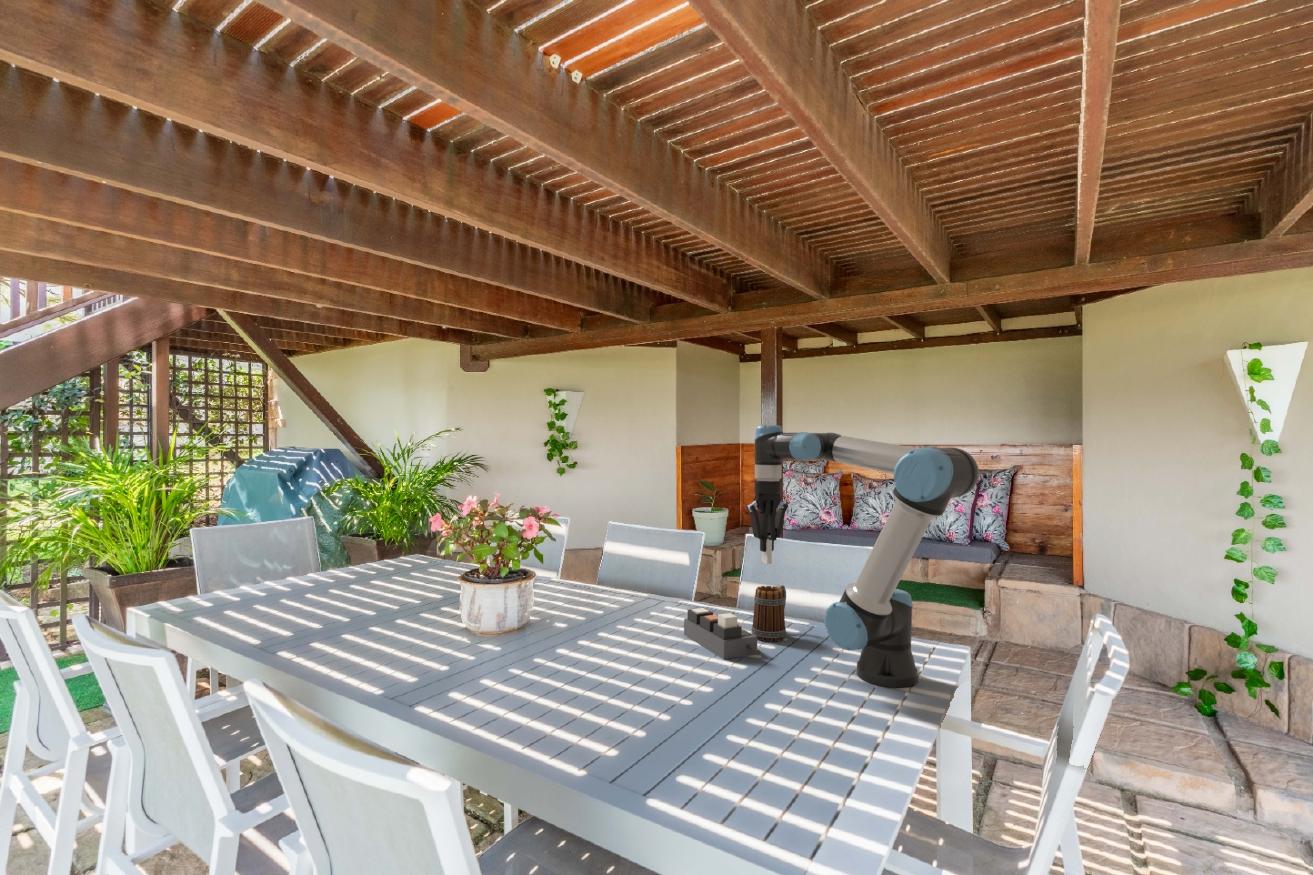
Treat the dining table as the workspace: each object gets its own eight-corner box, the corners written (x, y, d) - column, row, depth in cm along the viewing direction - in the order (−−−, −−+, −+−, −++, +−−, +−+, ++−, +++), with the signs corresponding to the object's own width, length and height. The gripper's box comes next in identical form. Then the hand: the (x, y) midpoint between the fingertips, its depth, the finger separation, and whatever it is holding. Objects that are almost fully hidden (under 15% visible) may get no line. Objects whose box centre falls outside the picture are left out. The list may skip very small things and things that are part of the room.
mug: (776, 644, 195) (776, 594, 195) (745, 637, 201) (745, 589, 201) (798, 632, 207) (799, 585, 207) (768, 626, 214) (769, 580, 214)
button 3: (709, 620, 200) (709, 611, 200) (697, 622, 199) (697, 612, 199) (702, 617, 204) (702, 607, 204) (691, 618, 202) (691, 609, 202)
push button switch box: (768, 660, 182) (768, 631, 181) (734, 665, 177) (734, 636, 177) (714, 630, 208) (714, 605, 208) (683, 634, 204) (684, 609, 203)
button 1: (737, 627, 186) (737, 616, 186) (725, 628, 184) (725, 618, 184) (729, 623, 190) (729, 613, 189) (717, 624, 188) (718, 614, 188)
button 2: (722, 628, 193) (722, 617, 193) (710, 629, 191) (710, 619, 191) (715, 624, 197) (715, 614, 197) (704, 625, 195) (704, 615, 195)
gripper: (778, 478, 191) (777, 558, 191) (741, 479, 186) (740, 562, 186) (794, 480, 184) (793, 563, 184) (756, 481, 179) (754, 567, 179)
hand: (766, 562), depth 185 cm, fingers closed
